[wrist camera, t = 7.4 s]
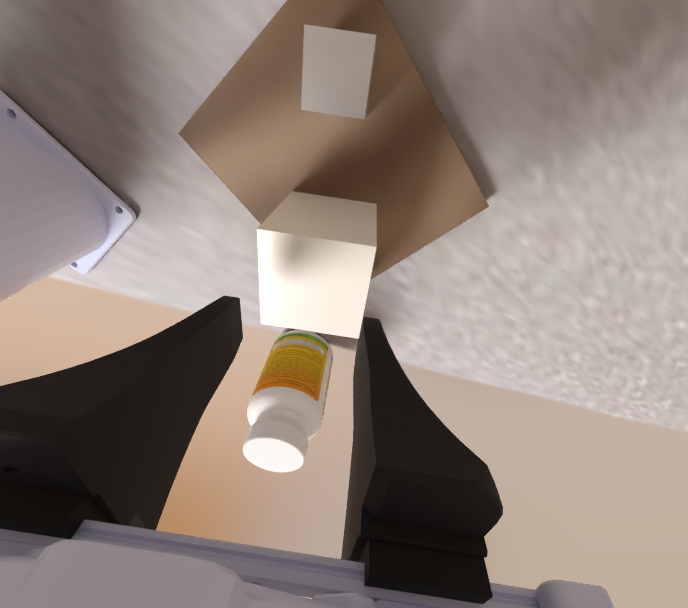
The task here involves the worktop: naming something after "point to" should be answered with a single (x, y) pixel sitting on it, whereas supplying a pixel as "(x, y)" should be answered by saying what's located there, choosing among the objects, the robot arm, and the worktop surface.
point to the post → (337, 71)
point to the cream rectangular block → (316, 263)
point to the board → (337, 134)
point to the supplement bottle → (288, 401)
